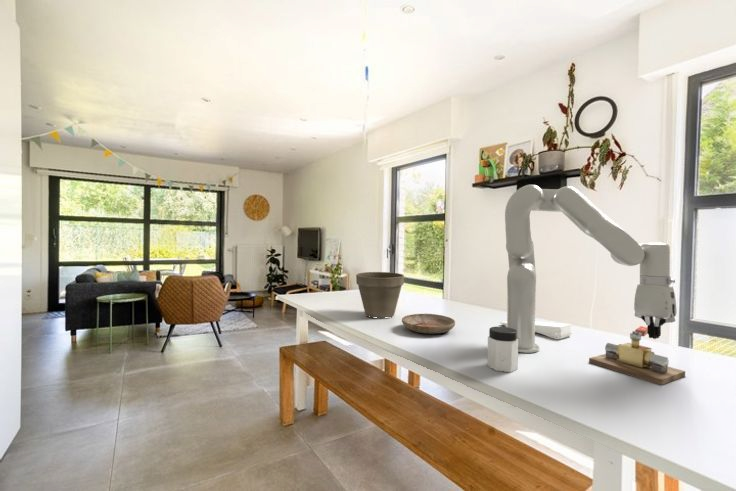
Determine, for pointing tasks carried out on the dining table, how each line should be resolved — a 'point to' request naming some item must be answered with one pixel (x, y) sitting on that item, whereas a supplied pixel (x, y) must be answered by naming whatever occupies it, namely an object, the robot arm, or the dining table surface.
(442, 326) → the ceramic bowl
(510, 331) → the jar
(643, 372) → the base board
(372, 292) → the plant pot
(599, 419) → the dining table surface
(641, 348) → the ball valve
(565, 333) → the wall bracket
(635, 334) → the lever
